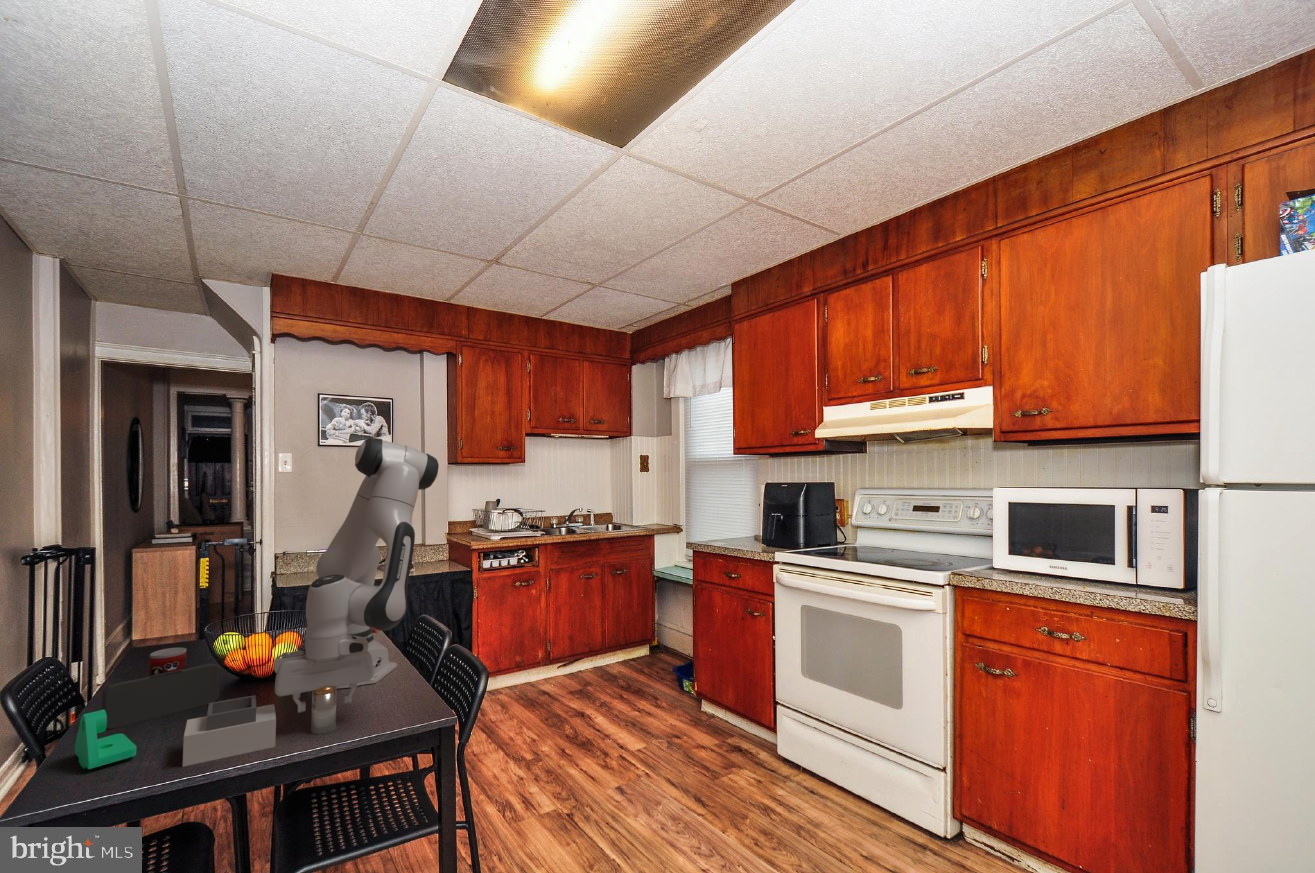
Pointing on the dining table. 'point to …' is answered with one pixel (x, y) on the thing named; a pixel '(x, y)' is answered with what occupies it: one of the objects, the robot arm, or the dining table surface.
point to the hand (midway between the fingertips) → (324, 706)
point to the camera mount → (100, 742)
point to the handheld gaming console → (160, 694)
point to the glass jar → (323, 710)
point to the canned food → (167, 660)
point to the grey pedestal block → (229, 730)
